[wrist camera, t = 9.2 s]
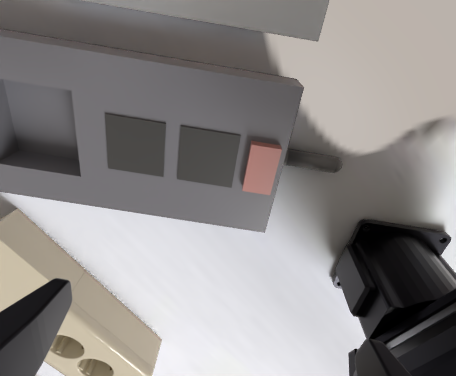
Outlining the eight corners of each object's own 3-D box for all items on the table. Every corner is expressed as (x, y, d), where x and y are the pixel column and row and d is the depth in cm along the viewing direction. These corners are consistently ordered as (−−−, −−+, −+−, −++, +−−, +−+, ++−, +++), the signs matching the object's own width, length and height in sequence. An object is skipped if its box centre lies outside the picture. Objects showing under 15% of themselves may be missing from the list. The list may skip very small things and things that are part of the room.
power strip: (365, 90, 16) (389, 103, 14) (318, 219, 21) (328, 248, 18) (-67, 17, 16) (-131, 16, 13) (-22, 166, 20) (-63, 188, 18)
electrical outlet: (-22, 239, 19) (152, 380, 26) (20, 205, 22) (163, 337, 29) (-83, 277, 21) (94, 398, 28) (-35, 240, 24) (111, 356, 31)
